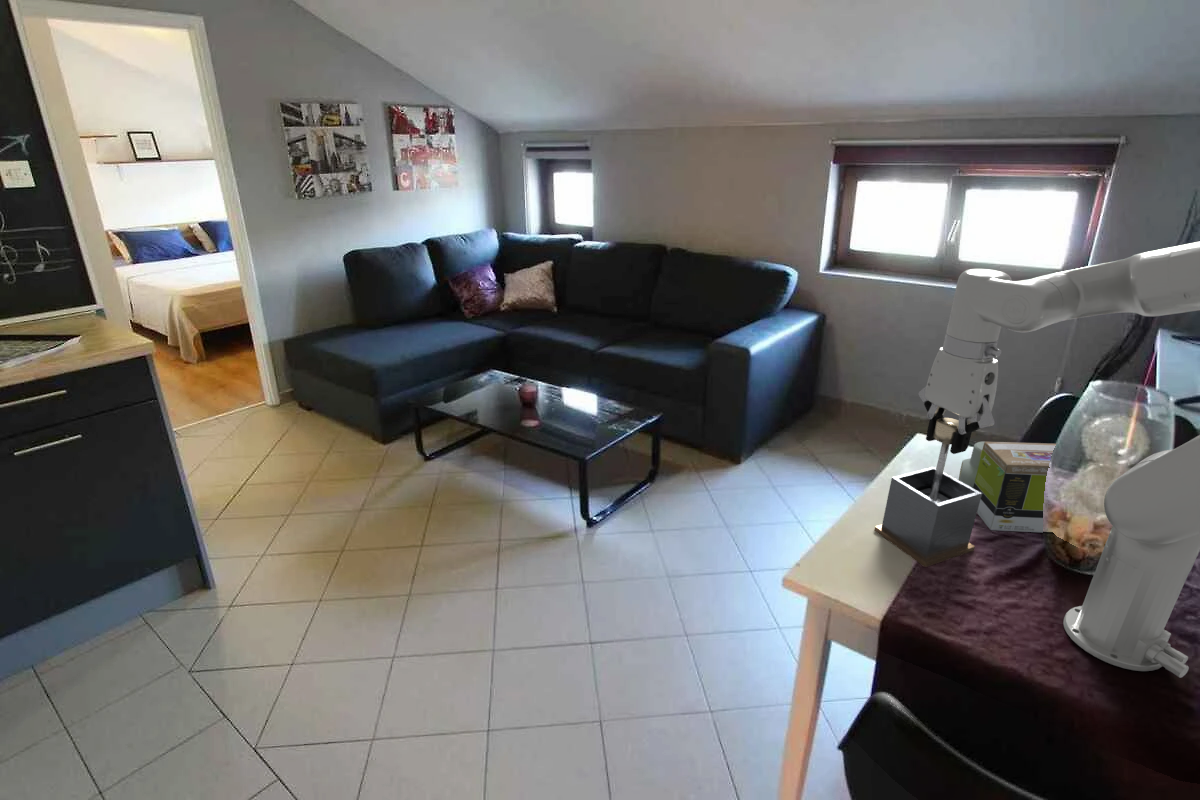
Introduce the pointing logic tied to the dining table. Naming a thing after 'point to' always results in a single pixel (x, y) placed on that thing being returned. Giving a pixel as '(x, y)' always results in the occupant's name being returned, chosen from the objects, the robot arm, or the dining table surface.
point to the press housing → (929, 517)
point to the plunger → (941, 454)
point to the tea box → (1013, 485)
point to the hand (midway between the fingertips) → (945, 444)
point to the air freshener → (971, 466)
